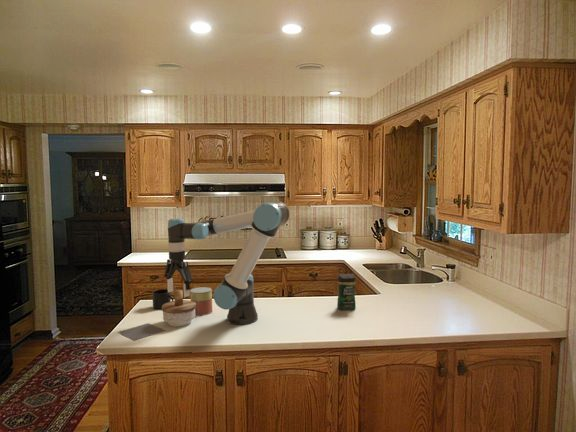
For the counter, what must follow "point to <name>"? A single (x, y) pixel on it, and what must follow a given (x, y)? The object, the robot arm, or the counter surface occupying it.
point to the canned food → (202, 300)
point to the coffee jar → (346, 292)
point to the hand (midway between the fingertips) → (178, 294)
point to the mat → (141, 331)
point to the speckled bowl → (179, 318)
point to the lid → (178, 304)
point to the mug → (161, 298)
